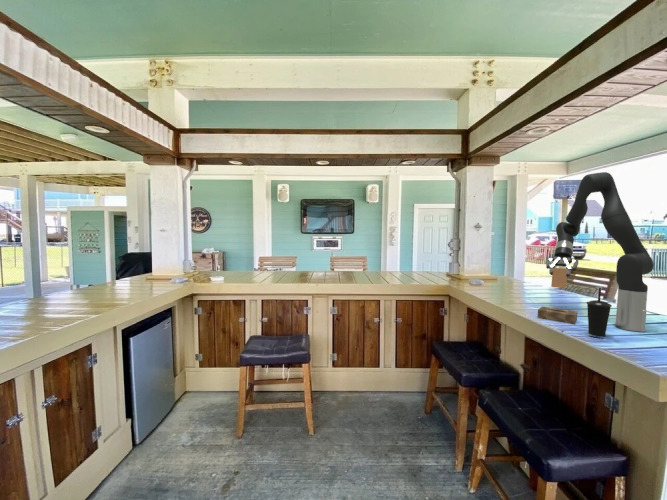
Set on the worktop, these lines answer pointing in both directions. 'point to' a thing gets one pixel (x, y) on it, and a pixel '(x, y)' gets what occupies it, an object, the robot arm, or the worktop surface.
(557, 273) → the cover plate
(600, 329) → the drinking cup
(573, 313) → the box
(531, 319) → the worktop surface
